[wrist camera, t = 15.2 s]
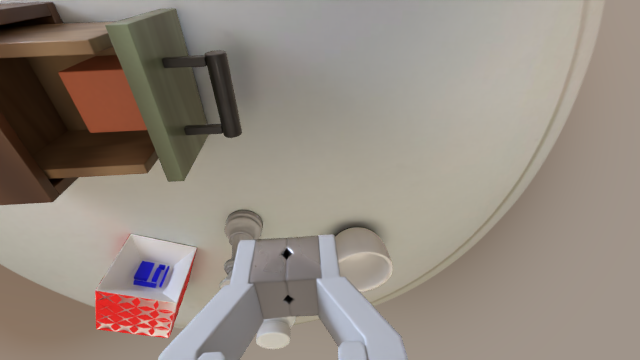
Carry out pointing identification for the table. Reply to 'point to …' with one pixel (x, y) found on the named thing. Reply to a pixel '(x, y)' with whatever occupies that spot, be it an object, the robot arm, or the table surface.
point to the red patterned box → (144, 287)
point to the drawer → (145, 83)
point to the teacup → (363, 258)
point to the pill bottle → (275, 332)
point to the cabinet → (5, 145)
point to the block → (103, 95)
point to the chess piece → (240, 235)
